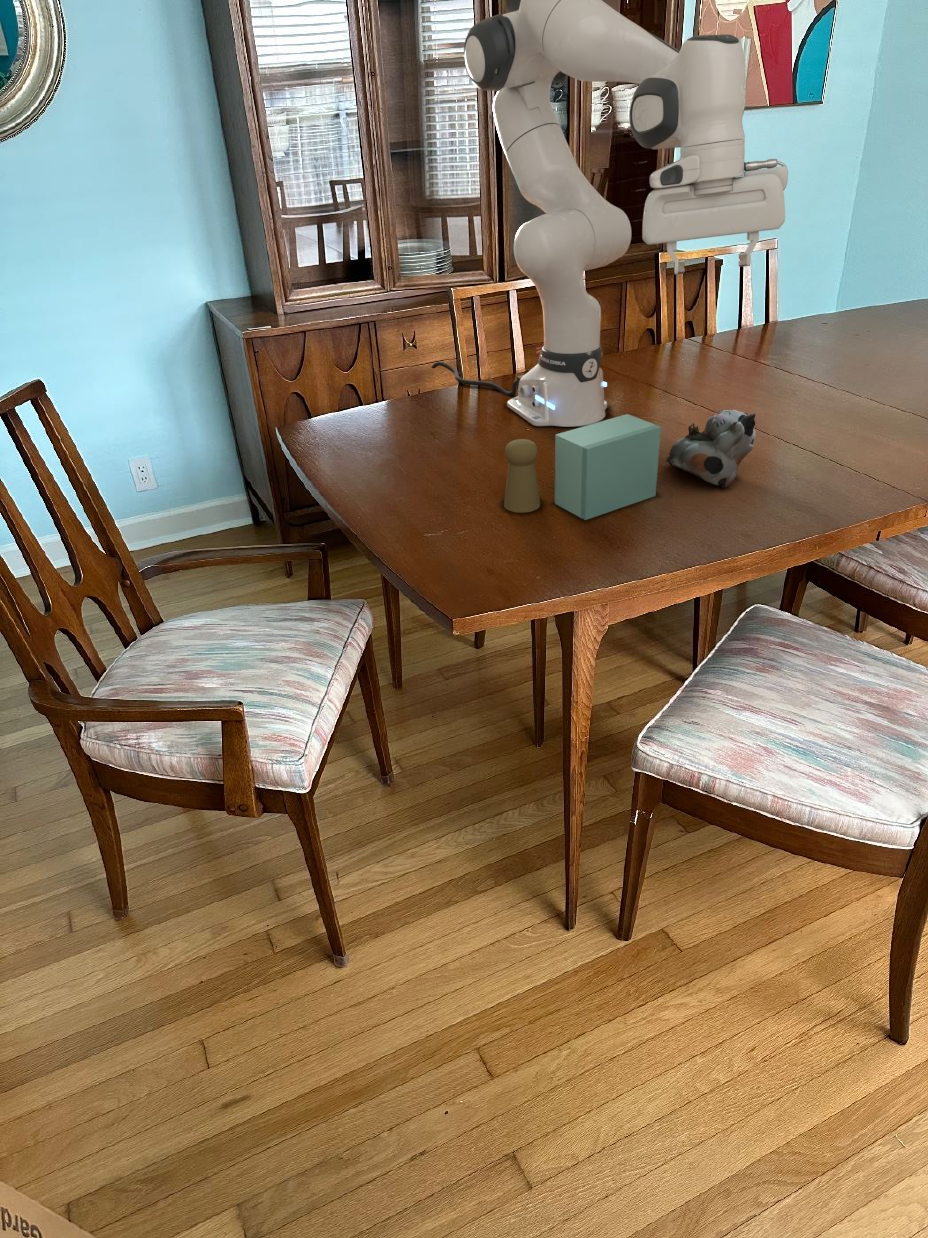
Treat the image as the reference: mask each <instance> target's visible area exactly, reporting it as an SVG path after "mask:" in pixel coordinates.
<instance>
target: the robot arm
mask: <svg viewBox="0 0 928 1238" xmlns="http://www.w3.org/2000/svg"><path fill="white" fill-rule="evenodd" d="M463 60H464V65H465V70H466V73H467V75H468V77H469V79H470V81H471V82H472V83H473V85H474V86H475V87H476V88H477V89H478V90H482V91H488V92H496V94H495V96H494V98H493V102H492V112H493V117H494V123H495V127H496V131H497V134H498V139H499V142H500V144H501V147H502V150H503V153H504V155H505V157H506V160H507V163H508V165H509V168H510V170H511V173H512V175H513V177H514V180H515V183H516V185H517V187H518V190H519V192H520V194H521V195H522V197H523V199H525V200H526V201H527V202H528V203H530V204H532V205H533V206H536V207H538V208H539V209H540V210H542V212H543V213H544V214H541V215H539V216H537V217H535V218H532V219H531V220H529V221H526V222H525V223H523V224H522V225H521V226H520V227H519V228H518V229H517V232H516V233H515V236H514V240H513V256H514V259H515V262H516V265H517V267H518V268H519V270H520V272H522V273H523V275H524V276H526V277H527V278H529V279H530V281H531V282H532V283H533V285H534V286H535V288H536V290H537V293H538V296H539V298H540V303H541V307H542V318H543V345H542V346H539V347H536V348H535V350H536V351H535V354H539V358H538V362H537V364H536V365H535V366H533V367H532V368H530V370H529V371H528V372H526V373H525V374H522V375H519V376H516V379H515V380H514V381H513V382H512V384H511V385H512V387H511V390H506V389H505V388H503V387H501V386H500V385H498V384H496V383H493V382H491V381H490V382H489V381H483V380H473V379H472V380H471V379H465V378H462V377H460V372H459V370H458V369H457V368H455V367H453V366H451V365H449V364H448V363H446V362H443V361H436V362H434V363H433V364H432V365H431V369H436V368H437V367H443V368H445V369H447V370H449V372H452V373H453V374H454V379H455V380H456V382H457V383H460V384H464V385H468V386H478V387H487V388H492V389H495V390H496V391H498V392H500V393H502V394H505V395H507V396H511V397H512V396H514V395H516V394H517V396H515V397H512V398H510V399H508V401H507V402H506V407H507V408H508V409H510V410H511V411H513V412H514V413H515V414H518V416H520V417H521V418H522V419H524V420H526V421H527V422H528V423H529V424H531V425H532V426H535V427H554V426H555V427H562V428H563V427H564V428H565V427H566V428H569V427H570V428H571V427H584V426H587V425H591V424H594V423H598V422H601V421H603V420H604V419H605V417H606V415H607V414H606V409H607V408H608V402H607V400H605V389H604V388H606V387H608V382H606V381H604V372H603V369H602V368H601V366H602V363H603V361H602V360H603V359H602V357H603V347H602V345H601V323H602V322H601V320H602V308H601V305H600V303H599V301H598V300H597V299H596V298H595V297H594V296H592V295H591V294H589V293H588V292H587V290H586V289H587V288H586V286H585V282H584V281H585V280H584V272H586V271H590V270H595V269H598V268H604V267H606V266H608V265H609V264H611V263H614V262H615V261H617V260H618V259H620V258H622V257H623V256H624V255H625V254H626V253H627V251H628V250H629V248H630V244H631V241H632V226H631V223H630V219H629V217H628V215H627V214H626V213H625V211H624V210H623V209H621V208H619V207H617V206H615V205H614V204H612V203H610V202H609V201H608V200H606V199H605V198H604V197H603V196H602V195H601V194H600V192H598V191H597V190H596V188H595V187H594V186H593V184H591V182H590V181H589V180H588V179H587V177H586V176H585V175H584V173H583V172H582V171H581V169H580V167H579V166H578V163H577V161H576V160H575V157H574V155H573V153H572V150H571V149H570V146H569V144H568V142H567V139H566V137H565V134H564V132H563V129H562V127H561V125H560V121H559V120H558V117H557V115H556V114H555V111H554V109H553V106H552V102H551V98H550V97H551V96H550V95H551V94H550V92H551V87H553V88H561V87H563V85H565V83H566V81H567V78H568V77H569V78H573V79H575V80H578V81H581V82H589V83H590V82H592V83H594V82H598V83H599V82H604V83H605V82H607V83H609V82H611V83H613V82H614V83H615V82H616V83H617V82H618V83H630V84H637V85H638V86H637V87H636V89H635V91H634V93H633V95H632V98H631V100H630V104H629V115H628V117H629V126H630V130H631V134H632V136H633V138H634V139H635V141H636V142H637V143H638V144H639V145H640V146H641V147H643V148H645V149H651V150H665V149H666V150H667V149H678V148H680V150H679V151H680V157H679V159H678V160H676V161H671V162H669V163H667V164H666V165H664V166H663V167H661V168H659V169H657V170H655V171H653V172H652V173H651V174H650V175H649V186H650V188H652V189H653V190H651V191H650V192H649V193H648V195H647V197H646V199H645V202H644V207H643V214H642V229H641V234H642V235H641V236H642V237H641V238H642V241H643V242H644V243H645V244H646V245H658V244H659V245H660V244H666V245H665V246H666V251H667V253H668V255H669V257H670V258H671V260H672V261H673V273H674V275H682V274H683V275H684V274H686V273H685V272H686V269H685V266H686V262H685V260H684V259H683V260H682V259H681V260H679V258H678V257H677V255H676V254H675V250H677V249H678V246H677V245H678V244H677V243H678V242H683V241H690V240H691V241H692V240H701V239H707V238H715V237H724V236H731V235H732V236H733V235H739V234H740V235H741V234H746V240H747V241H749V242H748V244H747V247H746V249H745V251H744V252H741V253H738V259H739V260H738V267H739V268H743V267H744V268H745V267H750V266H751V254H752V253H753V251H754V249H755V247H756V246H757V244H758V243H759V240H760V232H765V231H773V230H779V229H780V228H781V227H782V226H783V225H784V223H785V222H786V204H785V194H784V191H785V189H786V188H787V185H788V182H789V181H788V178H789V177H788V176H789V171H788V167H787V165H786V164H785V163H784V162H782V161H781V160H780V161H779V160H778V158H769V159H767V160H753V161H747V162H745V156H746V155H745V153H746V152H745V150H746V135H745V130H744V126H743V125H744V124H743V116H744V112H745V107H746V101H747V100H746V98H747V95H746V94H747V78H746V77H747V75H746V73H747V72H746V60H745V53H744V48H743V45H742V42H741V39H740V38H738V37H737V36H736V35H733V34H701V35H700V34H699V35H693V36H690V37H689V38H687V39H686V40H685V41H684V42H683V43H682V45H681V47H680V49H678V48H676V47H675V46H673V45H672V44H670V43H668V42H667V41H665V40H663V39H662V38H661V37H658V36H656V35H655V34H654V33H651V32H649V31H648V30H646V29H644V28H643V27H641V26H640V25H638V24H637V23H635V22H633V21H632V20H630V19H629V18H627V17H626V16H624V15H623V14H621V13H620V12H619V11H617V10H616V9H614V8H613V7H611V6H610V5H609V4H607V3H606V2H604V1H603V0H520V2H519V7H518V9H517V10H515V11H510V12H507V13H503V14H501V13H499V14H496V15H493V16H489V17H486V18H484V19H481V21H479V22H477V23H476V24H474V25H473V26H472V27H470V29H469V31H468V32H467V35H466V37H465V40H464V45H463ZM778 165H779V166H778Z"/></svg>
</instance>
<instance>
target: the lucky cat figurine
mask: <svg viewBox="0 0 928 1238" xmlns="http://www.w3.org/2000/svg"><path fill="white" fill-rule="evenodd" d="M755 418H756V413H751V414H748V412H743V411H740V410H736V409H723V410H722V411H720V412H718V413H716V414H714V415H712V416H710V417H709V418H708V419H707V421H706V423H705V426H704V430H702V431H701V432H700V429H699V426H698V424H696V423H695V422H692V423H691V424H690V425H689V426H688V429H687V430H688V434H686V436H685V437H684V438H683V437H682V438H679V439H678V440H676V441H675V442H674V443H673V445H672V446H671V448H670V451H669V453H668V455H669V456H668V457H665V459H664V461H665V462H666V463H668V464H669V465H670V466H673V467H675V468H677V469H680V470H681V471H684V472H687V473H689V474H691V475H693V476H696V477H698V478H699V479H701V480H702V481H705V482H706V483H709V484H712V485H715V486H717V487H718V486H719V487H720V488H722V489H727V488H728V487H730V486H731V485H733V482H734V481H735V479H736V477H737V476H738V475H737V474H738V468H739V466H740V464H741V462H742V461H743V460H744V459H745V457H747V456H748V455H749V453H750V452H752V451H753V450H754V446H755V445H754V441H755V440H756V434H757V431H756V429H755V426H756V420H755Z"/></svg>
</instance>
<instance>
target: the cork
mask: <svg viewBox="0 0 928 1238" xmlns="http://www.w3.org/2000/svg"><path fill="white" fill-rule="evenodd" d="M504 455H505V459H506V461H507V462H508V465H507V466H508V467H507V473H506V484H505V492H504V493H505V494H504V502H503V507H504V509H505V510H507V511H509V512H513V513H517V514H518V513H531V512H534V511H536V510H538V509H539V508H540V507H541V501H540V496H539V494H540V493H539V487H538V480H537V473H536V465H535V461H536V460H537V458H538V446H537V445H536V443H535V442H534V441H532V440H530V439H527V438H519V439H514V440H511V441H509V442H508V443H507V444H506V446H505V450H504Z"/></svg>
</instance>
